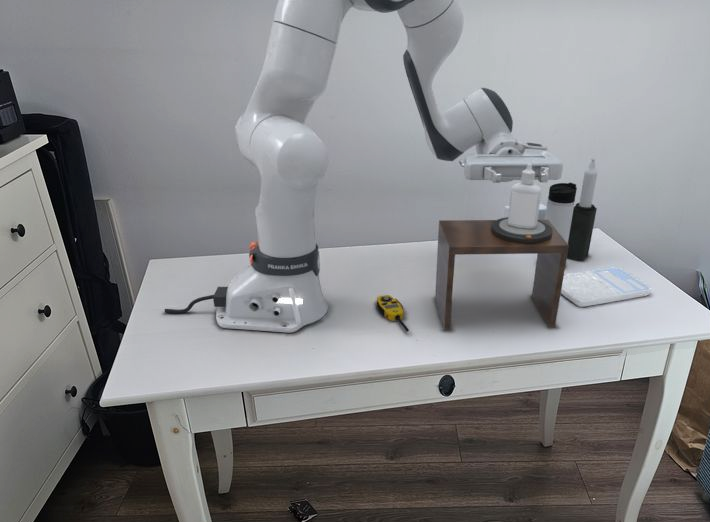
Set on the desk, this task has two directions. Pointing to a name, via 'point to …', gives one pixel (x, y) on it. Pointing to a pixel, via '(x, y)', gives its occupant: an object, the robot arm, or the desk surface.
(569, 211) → the travel mug
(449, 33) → the robot arm
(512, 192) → the eye dropper bottle
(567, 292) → the calculator
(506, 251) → the desk shelf
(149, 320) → the desk surface
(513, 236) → the hot plate
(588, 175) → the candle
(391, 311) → the yellow walkie talkie
